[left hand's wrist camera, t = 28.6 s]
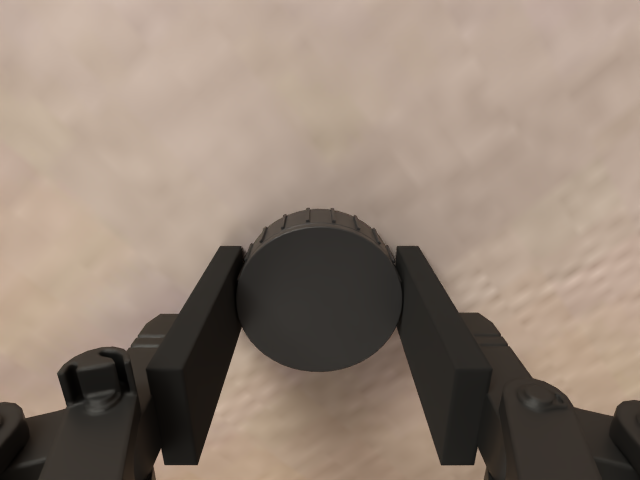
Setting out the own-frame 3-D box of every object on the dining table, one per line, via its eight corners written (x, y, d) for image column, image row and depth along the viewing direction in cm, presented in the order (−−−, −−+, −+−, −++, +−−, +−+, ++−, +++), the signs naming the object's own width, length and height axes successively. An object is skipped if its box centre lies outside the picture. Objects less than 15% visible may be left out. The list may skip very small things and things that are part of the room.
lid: (316, 172, 13) (316, 186, 12) (426, 276, 15) (440, 302, 13) (211, 281, 15) (198, 307, 13) (321, 366, 16) (321, 399, 14)
